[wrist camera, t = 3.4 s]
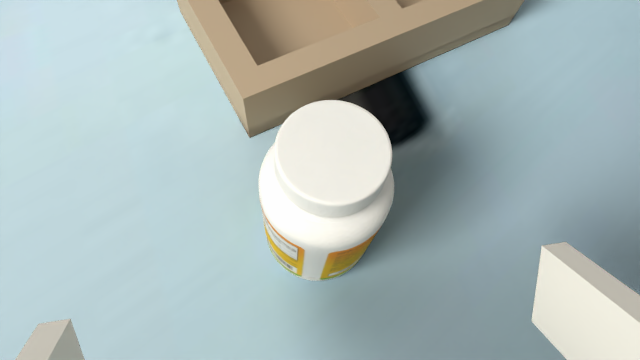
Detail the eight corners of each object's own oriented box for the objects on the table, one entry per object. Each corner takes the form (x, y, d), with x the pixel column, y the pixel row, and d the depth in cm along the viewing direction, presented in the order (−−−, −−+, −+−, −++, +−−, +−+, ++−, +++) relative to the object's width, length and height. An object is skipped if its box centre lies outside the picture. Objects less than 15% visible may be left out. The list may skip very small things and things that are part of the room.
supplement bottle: (371, 193, 24) (419, 94, 16) (361, 290, 22) (409, 239, 13) (276, 178, 24) (269, 69, 16) (256, 273, 22) (235, 210, 13)
